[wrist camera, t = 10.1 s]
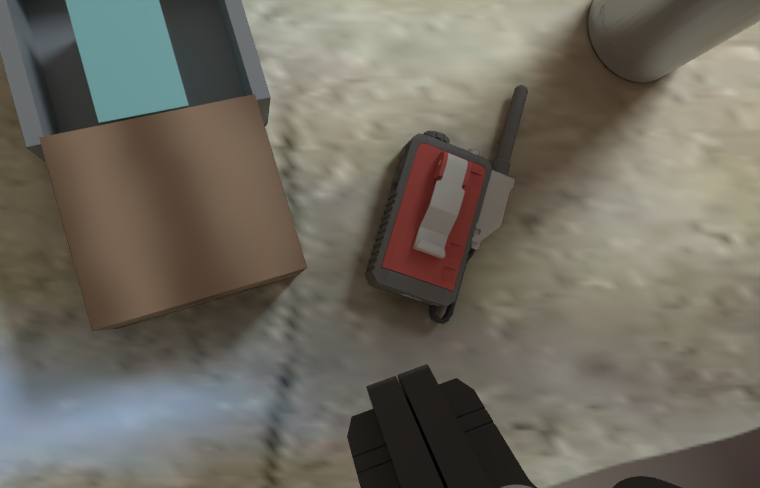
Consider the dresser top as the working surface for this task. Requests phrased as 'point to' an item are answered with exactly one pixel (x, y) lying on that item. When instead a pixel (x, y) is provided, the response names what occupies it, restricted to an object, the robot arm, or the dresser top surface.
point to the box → (68, 79)
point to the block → (127, 58)
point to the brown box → (172, 210)
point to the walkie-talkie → (441, 214)
